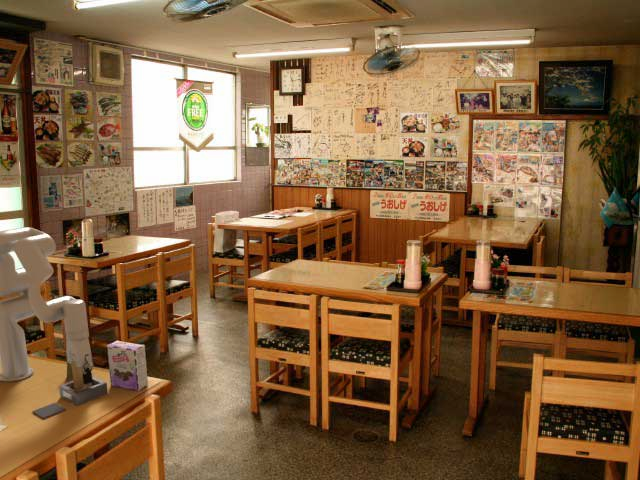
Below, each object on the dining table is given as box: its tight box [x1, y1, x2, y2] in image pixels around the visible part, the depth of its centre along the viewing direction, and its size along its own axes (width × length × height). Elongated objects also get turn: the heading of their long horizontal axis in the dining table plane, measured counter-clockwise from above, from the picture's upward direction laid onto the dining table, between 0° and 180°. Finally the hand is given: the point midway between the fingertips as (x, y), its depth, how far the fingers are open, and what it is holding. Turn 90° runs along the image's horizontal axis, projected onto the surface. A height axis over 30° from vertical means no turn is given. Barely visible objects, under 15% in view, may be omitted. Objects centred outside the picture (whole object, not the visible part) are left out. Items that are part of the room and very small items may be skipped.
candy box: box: [106, 340, 149, 392], centre depth 227 cm, size 14×6×16 cm, turn 65°
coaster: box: [32, 402, 67, 420], centre depth 209 cm, size 8×8×1 cm
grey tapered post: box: [64, 351, 73, 380], centre depth 238 cm, size 6×6×11 cm
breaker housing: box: [58, 375, 109, 407], centre depth 220 cm, size 12×12×4 cm
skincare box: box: [71, 361, 92, 392], centre depth 219 cm, size 6×4×12 cm
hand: (82, 380), depth 220 cm, fingers closed on skincare box, 7 cm apart
